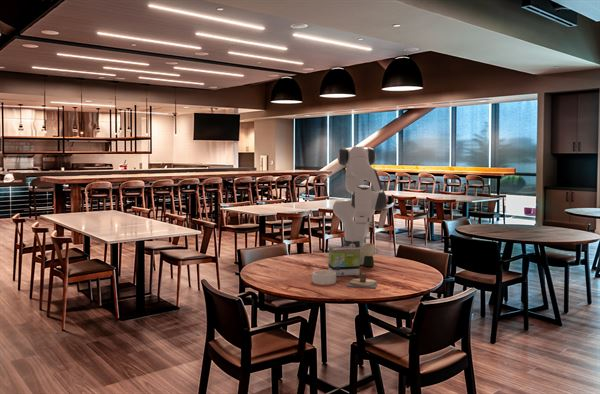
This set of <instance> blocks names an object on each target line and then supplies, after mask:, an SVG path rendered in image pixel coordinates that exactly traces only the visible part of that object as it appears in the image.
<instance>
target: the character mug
mask: <svg viewBox="0 0 600 394" xmlns="http://www.w3.org/2000/svg"><path fill="white" fill-rule="evenodd" d="M361 249H363V251H361ZM360 253H363V255H364V256H365V257H364V263H363V264H362V265H363V266H365V267H373V266H375V261H374V256H375V255H376V254H379V247H376V244H374V243H365V244H364V246H363V247H360Z"/></svg>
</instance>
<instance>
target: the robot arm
mask: <svg viewBox="0 0 600 394" xmlns="http://www.w3.org/2000/svg"><path fill="white" fill-rule="evenodd" d="M336 155H337V162H338V163H339V165H340V166H345V181H344V182H345V184H344V185H345V186H344V187H345V189H346V191H347V192H348V193H349V194H351V195H350V196H351V197H350V198H344V199H343V198H342V199H337V200H335V201H334V203H333V204H332V211H333V214H334V216H336V217H337V218H338V219H339V220H340V222H341V223H342V225H343V230H344V240H343V247H346V246H354V247H356V248H358V249H360V247H363V246H364V244H367V237H368V234H369V233H370V225H371V224H370V222H373V215H374V214H375V211H382V210H384V209H385V208H386V207H387V205H388V197H387V194H386V192H385V190H384V188H383V185H382V182H381V179H380V176H379V174H378V171H377V170H376V168H374V167H373V166H372V165H374V163H375V162H376V158H377V154H376V151H375V149H374V148H372V147H369V146H368V147H366V146H365V147H364V146H362V145H355V146H352V147H346V146H345V147H342V148H341V147H340V149H339V150H338V152H337V154H336ZM365 181H367V182H369V183H371V185H372V188H373V190H372V188H371V186H370V185H366V184H365ZM361 251H363V249H361ZM364 257H365V256H364V255H363V253H360V265H363V263H364Z"/></svg>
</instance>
